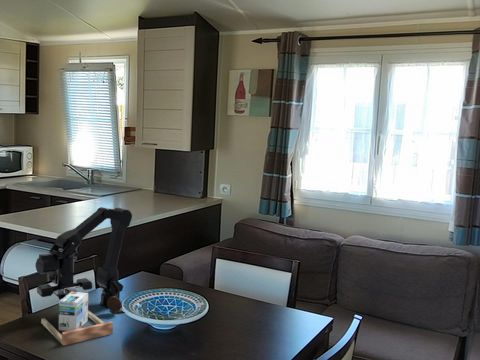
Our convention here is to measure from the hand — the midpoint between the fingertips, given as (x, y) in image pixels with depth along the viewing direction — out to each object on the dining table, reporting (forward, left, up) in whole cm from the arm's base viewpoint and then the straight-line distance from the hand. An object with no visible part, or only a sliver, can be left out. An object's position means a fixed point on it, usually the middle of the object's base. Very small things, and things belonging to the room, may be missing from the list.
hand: (64, 309), depth 181 cm
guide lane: (0, +11, -3) cm, 11 cm away
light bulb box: (0, +9, -3) cm, 9 cm away
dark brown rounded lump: (-19, +4, -3) cm, 20 cm away
